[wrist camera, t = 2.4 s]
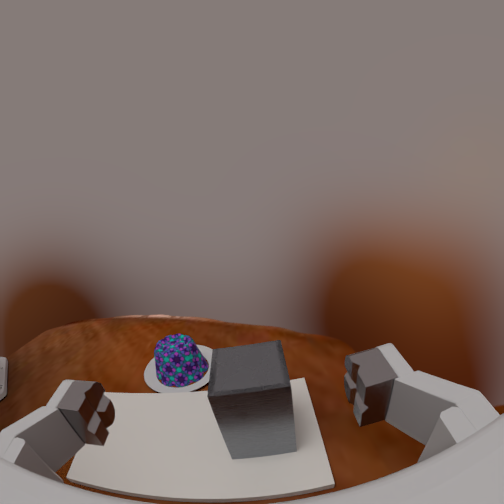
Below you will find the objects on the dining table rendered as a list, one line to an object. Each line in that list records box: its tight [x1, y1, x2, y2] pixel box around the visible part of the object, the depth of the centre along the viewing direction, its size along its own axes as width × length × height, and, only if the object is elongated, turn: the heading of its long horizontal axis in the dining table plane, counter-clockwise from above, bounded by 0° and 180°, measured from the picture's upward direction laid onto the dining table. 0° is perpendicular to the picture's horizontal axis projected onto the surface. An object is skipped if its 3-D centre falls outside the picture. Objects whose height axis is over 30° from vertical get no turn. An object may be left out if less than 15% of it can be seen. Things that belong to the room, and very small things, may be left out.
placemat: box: [66, 378, 335, 502], centre depth 26 cm, size 28×16×1 cm, turn 93°
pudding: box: [144, 334, 213, 393], centre depth 39 cm, size 12×12×5 cm
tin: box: [207, 340, 297, 459], centre depth 24 cm, size 6×6×10 cm
